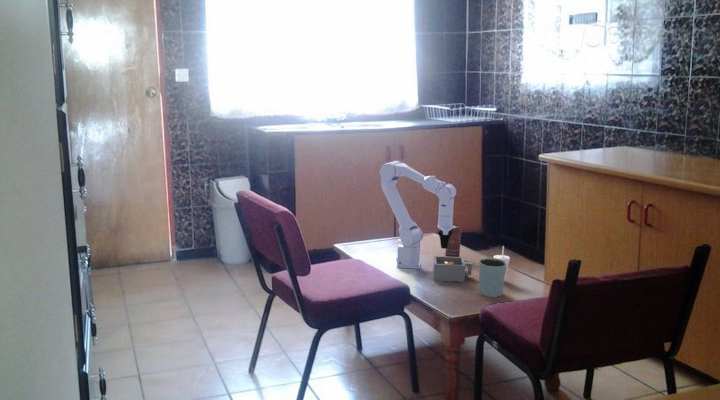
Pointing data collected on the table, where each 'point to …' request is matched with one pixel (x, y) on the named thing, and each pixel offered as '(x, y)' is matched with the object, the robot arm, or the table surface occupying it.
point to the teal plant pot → (491, 277)
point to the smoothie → (503, 259)
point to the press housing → (450, 269)
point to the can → (454, 242)
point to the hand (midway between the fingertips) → (443, 248)
